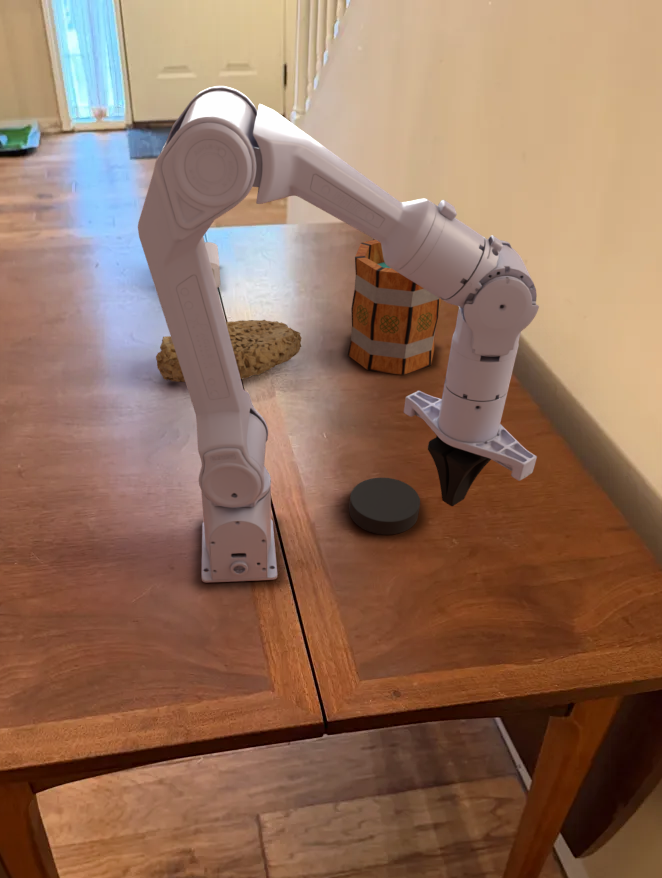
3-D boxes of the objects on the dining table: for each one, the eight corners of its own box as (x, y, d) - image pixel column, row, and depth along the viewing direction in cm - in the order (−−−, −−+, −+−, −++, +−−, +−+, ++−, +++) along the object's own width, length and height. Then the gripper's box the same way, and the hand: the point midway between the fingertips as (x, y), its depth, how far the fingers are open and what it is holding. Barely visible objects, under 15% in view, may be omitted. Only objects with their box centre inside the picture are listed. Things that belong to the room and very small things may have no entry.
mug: (447, 371, 114) (465, 272, 103) (357, 378, 112) (366, 278, 102) (411, 310, 128) (423, 217, 118) (330, 315, 126) (335, 222, 116)
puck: (424, 533, 88) (426, 520, 86) (353, 536, 87) (355, 523, 86) (410, 489, 93) (413, 476, 92) (344, 491, 93) (346, 478, 92)
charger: (166, 308, 128) (167, 269, 139) (222, 305, 129) (218, 267, 140) (163, 280, 125) (164, 243, 136) (220, 278, 126) (217, 241, 137)
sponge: (163, 402, 110) (302, 379, 106) (147, 348, 106) (291, 323, 102) (179, 370, 121) (306, 348, 117) (166, 320, 117) (296, 297, 113)
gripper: (569, 403, 69) (534, 518, 78) (445, 341, 77) (427, 452, 86) (520, 432, 65) (489, 549, 75) (395, 364, 74) (382, 477, 83)
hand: (453, 499), depth 80 cm, fingers closed
